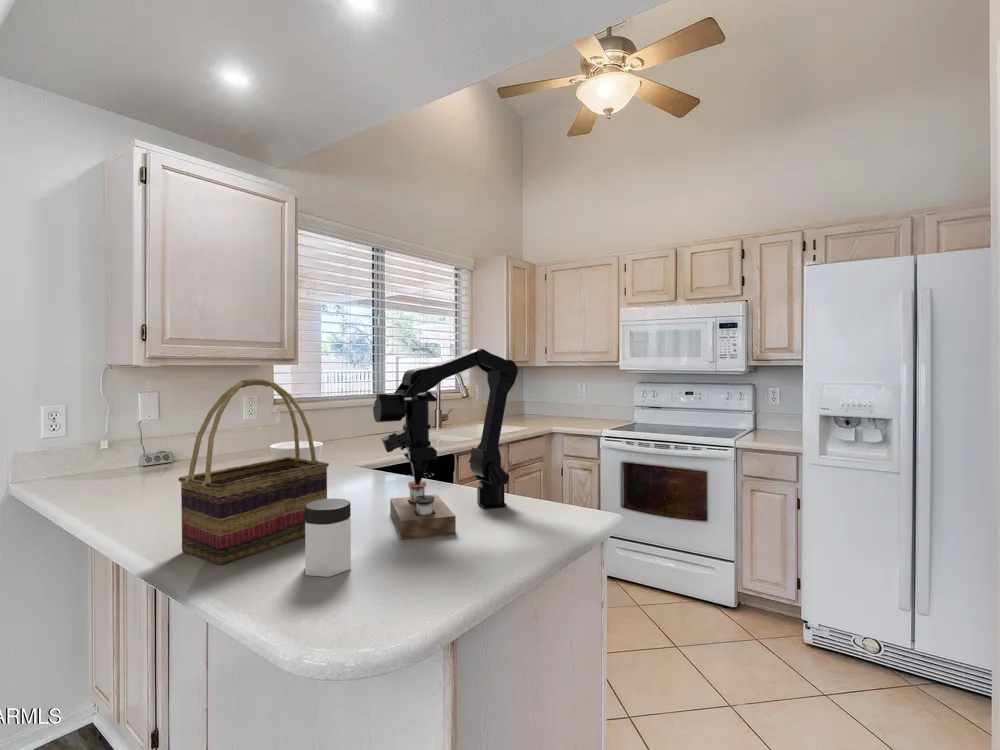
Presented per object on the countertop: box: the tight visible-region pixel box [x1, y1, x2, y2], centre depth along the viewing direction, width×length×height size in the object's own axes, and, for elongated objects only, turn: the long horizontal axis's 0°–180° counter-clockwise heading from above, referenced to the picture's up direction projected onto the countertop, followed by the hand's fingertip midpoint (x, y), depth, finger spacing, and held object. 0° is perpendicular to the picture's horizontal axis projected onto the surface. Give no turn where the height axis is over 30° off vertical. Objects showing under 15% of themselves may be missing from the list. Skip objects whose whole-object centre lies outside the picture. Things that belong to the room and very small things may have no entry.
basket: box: [177, 377, 330, 566], centre depth 109 cm, size 26×15×35 cm, turn 150°
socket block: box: [389, 494, 457, 541], centre depth 121 cm, size 12×20×4 cm, turn 19°
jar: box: [304, 498, 352, 578], centre depth 94 cm, size 9×8×12 cm
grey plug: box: [415, 494, 434, 516], centre depth 116 cm, size 4×4×7 cm
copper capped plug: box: [407, 480, 427, 504], centre depth 126 cm, size 4×4×7 cm
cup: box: [269, 440, 324, 462], centre depth 141 cm, size 14×14×16 cm
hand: (417, 483), depth 125 cm, fingers closed, pressing on copper capped plug
